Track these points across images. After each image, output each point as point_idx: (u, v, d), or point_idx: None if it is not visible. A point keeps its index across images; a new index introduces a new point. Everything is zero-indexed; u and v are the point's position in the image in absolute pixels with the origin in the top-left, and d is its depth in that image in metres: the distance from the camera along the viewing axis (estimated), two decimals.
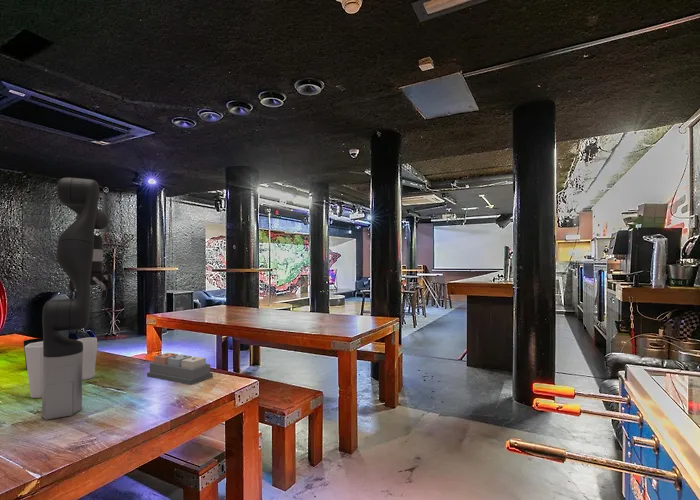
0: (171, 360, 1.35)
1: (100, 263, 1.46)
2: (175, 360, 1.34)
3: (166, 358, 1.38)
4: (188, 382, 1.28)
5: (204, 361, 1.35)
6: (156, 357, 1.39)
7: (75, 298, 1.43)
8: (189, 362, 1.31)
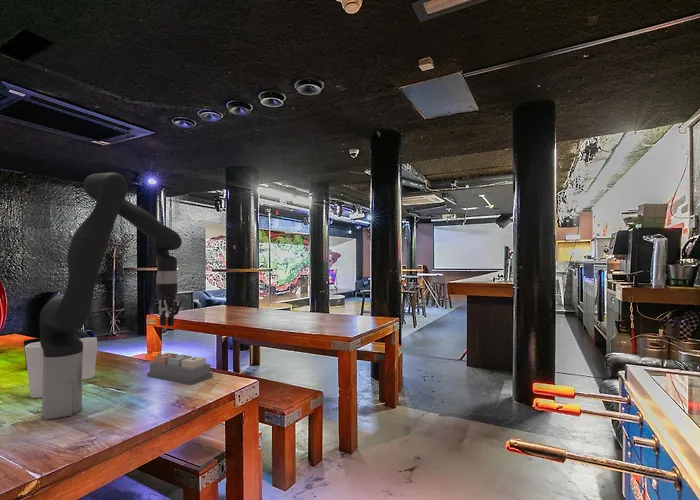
0: (171, 360, 1.35)
1: None
2: (175, 360, 1.34)
3: (166, 358, 1.38)
4: (188, 382, 1.28)
5: (204, 361, 1.35)
6: (156, 357, 1.39)
7: (173, 323, 1.41)
8: (189, 362, 1.31)
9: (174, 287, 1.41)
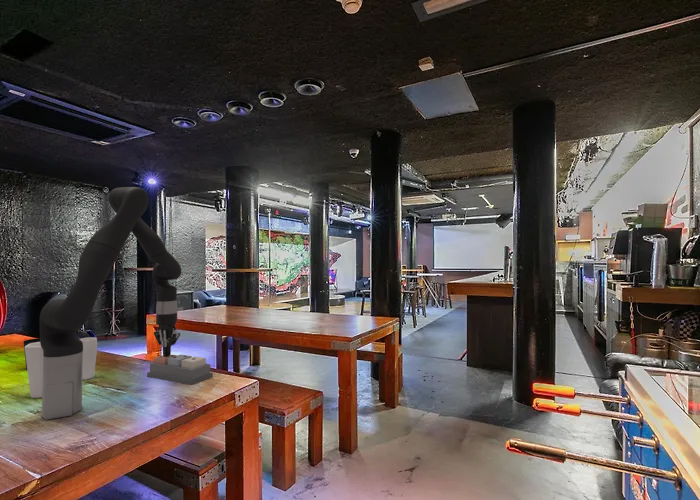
0: (171, 360, 1.35)
1: None
2: (175, 360, 1.34)
3: (166, 359, 1.38)
4: (188, 382, 1.28)
5: (204, 361, 1.35)
6: (156, 358, 1.39)
7: (170, 353, 1.41)
8: (189, 362, 1.31)
9: (174, 317, 1.40)
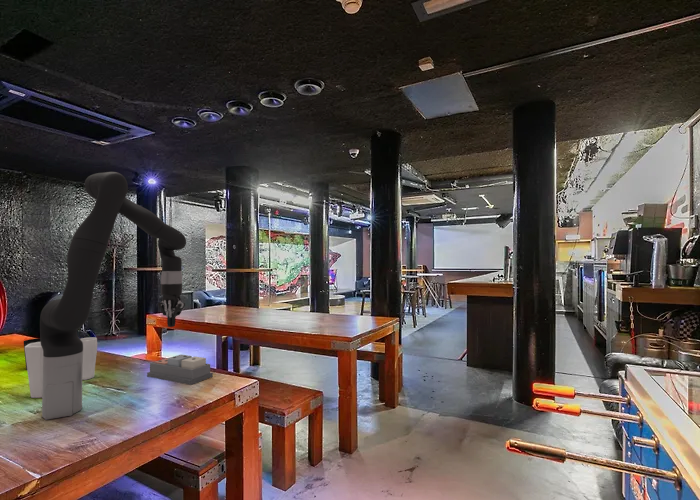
0: (171, 360, 1.35)
1: None
2: (175, 360, 1.34)
3: None
4: (188, 382, 1.28)
5: (204, 361, 1.35)
6: None
7: (174, 324, 1.40)
8: (189, 362, 1.31)
9: (179, 287, 1.40)
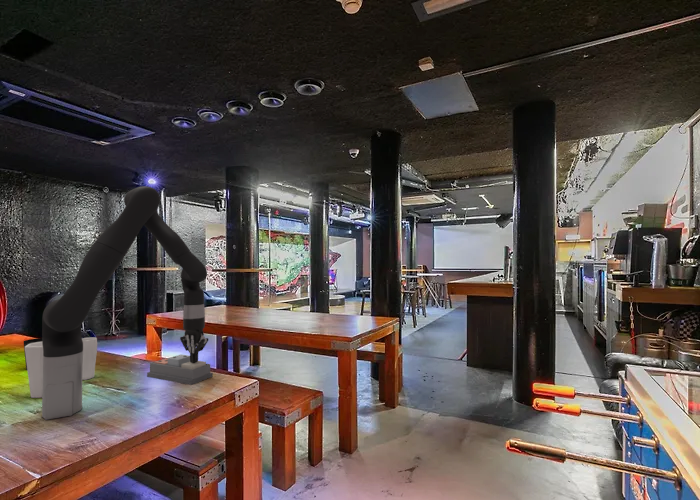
0: (171, 360, 1.35)
1: None
2: (175, 360, 1.34)
3: None
4: (188, 382, 1.28)
5: (204, 365, 1.35)
6: None
7: (197, 359, 1.35)
8: (189, 366, 1.31)
9: (202, 322, 1.34)
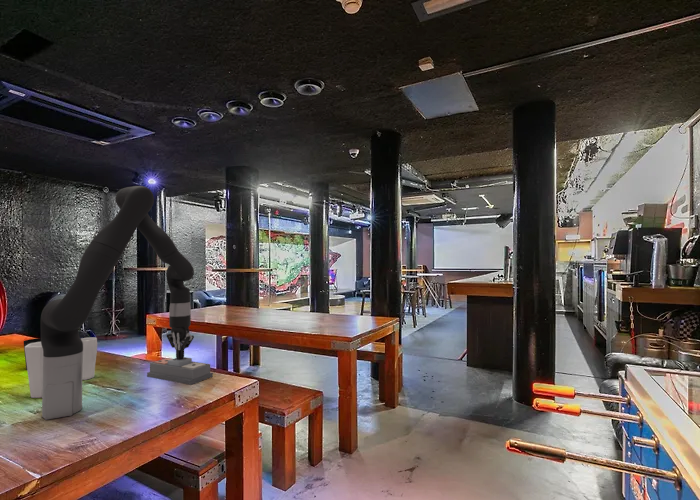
0: (171, 362, 1.35)
1: None
2: (175, 362, 1.34)
3: None
4: (188, 382, 1.28)
5: None
6: None
7: (183, 356, 1.38)
8: (189, 368, 1.31)
9: (187, 319, 1.37)
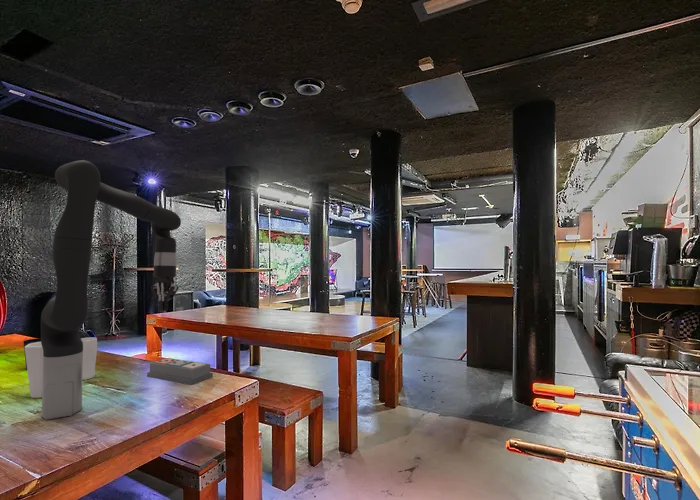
0: None
1: None
2: (175, 366, 1.34)
3: None
4: (188, 382, 1.28)
5: None
6: None
7: (167, 308, 1.34)
8: (189, 368, 1.31)
9: (172, 270, 1.33)
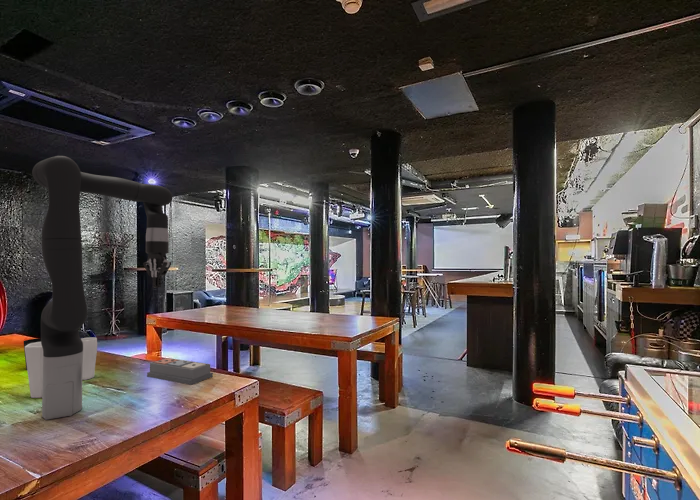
0: None
1: None
2: (175, 366, 1.34)
3: None
4: (188, 382, 1.28)
5: None
6: None
7: (160, 284, 1.32)
8: (189, 368, 1.31)
9: (165, 245, 1.31)
